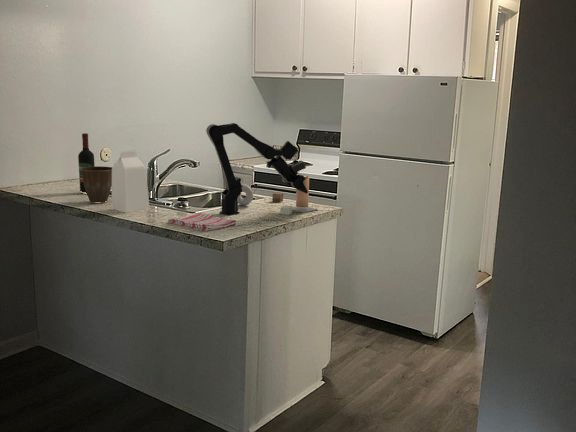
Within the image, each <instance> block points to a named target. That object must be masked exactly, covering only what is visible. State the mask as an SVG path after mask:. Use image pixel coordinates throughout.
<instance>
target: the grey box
mask: <svg viewBox="0 0 576 432" xmlns="http://www.w3.org/2000/svg"><path fill="white" fill-rule="evenodd" d="M292 208H293V205H282V206H281V207H280V208H279V212H280V213H279V214H280V215H287V216H288V215H291V214H292V213H293V211H292Z"/></svg>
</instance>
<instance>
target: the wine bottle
mask: <svg viewBox="0 0 576 432" xmlns="http://www.w3.org/2000/svg"><path fill="white" fill-rule="evenodd" d="M81 138H82V150H81V151H80V152H79V153H78V156H77V159H78V176H79V177H78V178H79V179H78V180H79V192H80V191H82V192H86V190H85V187H84V183H83V179H82V175H81V168H84V167H96V166H95V165H96V164H95V154H94V152H92V151H91V150H90V148H89V133H85V132H84V133H81Z"/></svg>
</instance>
